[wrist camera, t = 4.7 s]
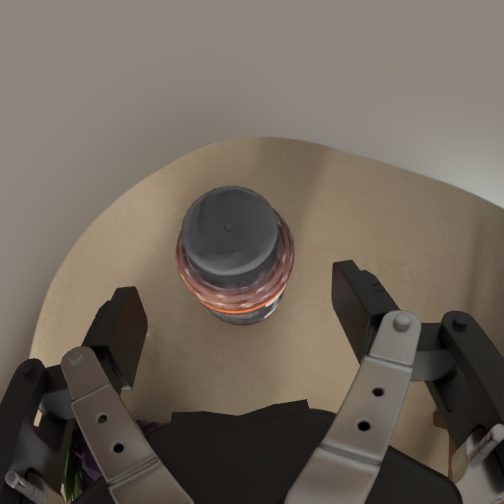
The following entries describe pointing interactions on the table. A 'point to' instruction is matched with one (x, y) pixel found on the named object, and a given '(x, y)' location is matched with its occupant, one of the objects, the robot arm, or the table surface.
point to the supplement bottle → (235, 254)
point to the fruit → (85, 461)
